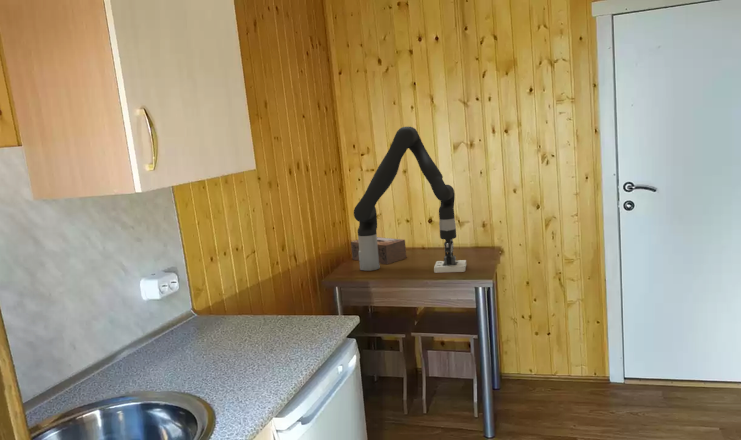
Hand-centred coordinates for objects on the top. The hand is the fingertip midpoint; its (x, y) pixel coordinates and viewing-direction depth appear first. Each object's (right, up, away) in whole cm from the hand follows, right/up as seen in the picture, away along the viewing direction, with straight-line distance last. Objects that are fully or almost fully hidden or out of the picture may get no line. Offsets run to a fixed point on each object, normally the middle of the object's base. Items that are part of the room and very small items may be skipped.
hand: (450, 262), depth 272 cm
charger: (0, -3, +1) cm, 3 cm away
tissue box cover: (-33, -1, +36) cm, 48 cm away
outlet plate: (0, -3, +1) cm, 3 cm away
